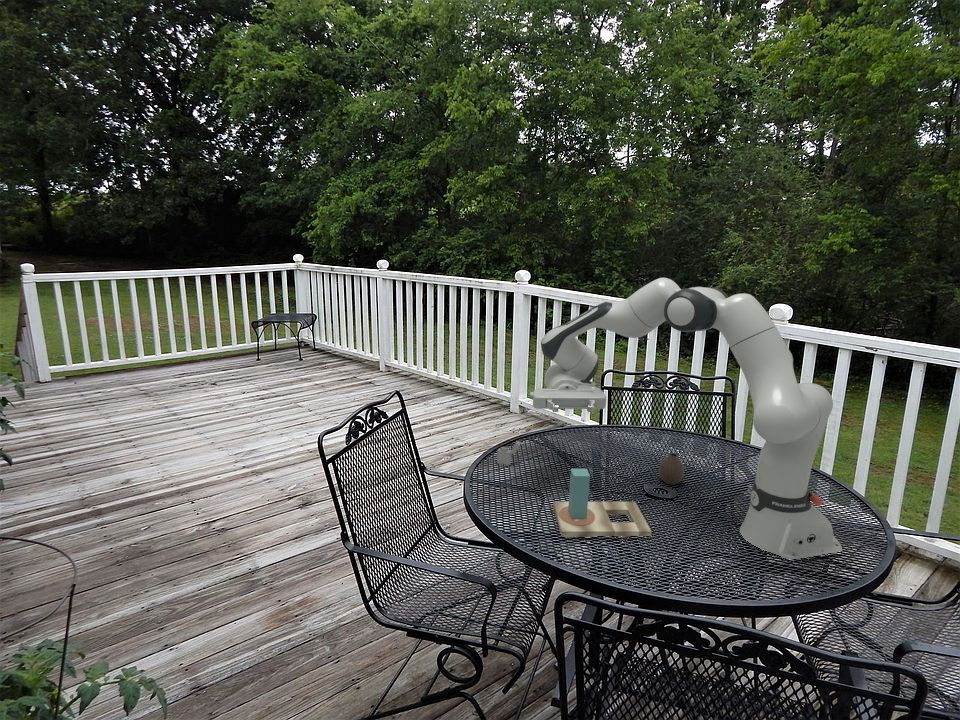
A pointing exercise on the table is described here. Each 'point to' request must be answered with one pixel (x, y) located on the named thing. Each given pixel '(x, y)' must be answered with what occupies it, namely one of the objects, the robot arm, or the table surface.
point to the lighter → (506, 454)
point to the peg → (578, 493)
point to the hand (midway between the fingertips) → (573, 409)
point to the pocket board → (605, 521)
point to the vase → (671, 469)
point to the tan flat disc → (579, 522)
